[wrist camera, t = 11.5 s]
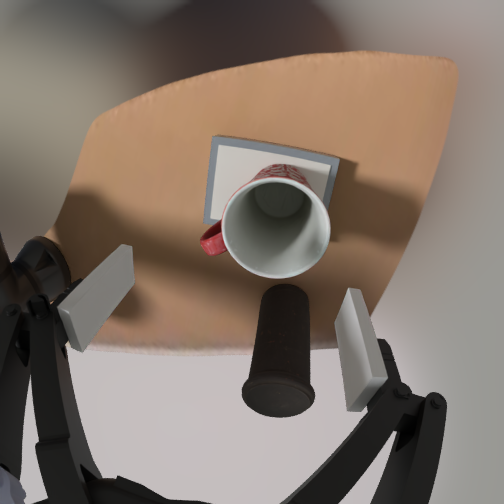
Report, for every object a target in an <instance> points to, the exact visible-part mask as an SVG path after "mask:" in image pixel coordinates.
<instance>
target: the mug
mask: <svg viewBox="0 0 504 504" xmlns="http://www.w3.org/2000/svg"><path fill="white" fill-rule="evenodd" d="M330 233H331V225H330V217H329V214H328V211H327V209H326V207H325V205H324V203H323V202H322V200H321V199H320V198H319V196H318V195H317V194H316V193H315V192H314V191H313V190H312V188H311V186H310V185H309V183H308V182H307V180H306V178H305V177H304V175H303V174H302V173H301V172H300V171H299V170H298V169H296V168H294V167H292V166H290V165H286V164H273V165H270V166H267V167H265V168H264V169H262V170H261V171H260V172H259V173H258V174H257V175H256V176H255V177H254V178H253V179H252V180H251V181H250V182H248V183H246V184H245V185H243V186H242V187H240V188H239V189H238V190H237V191H236V192H235V193H234V194H233V195H232V196H231V198H230V199H229V201H228V202H227V204H226V206H225V208H224V211H223V215H222V219H221V220H219V221H218V222H217V223H215V224H214V225H213V226H212V227H211V228H209V229H208V230H207V231H206V232H205V233H204V235H203V236H202V237H201V239H200V243H201V246H202V248H203V249H204V251H205V252H206V253H207V254H208V255H209V256H215V255H219V254H221V253H223V252H226V251H227V250H228V251H229V252H230V254H231V255H232V257H233V258H234V259H235V260H236V261H237V262H238V263H239V264H240V265H241V266H242V267H244V268H245V269H247V270H248V271H250V272H252V273H254V274H256V275H259V276H262V277H267V278H276V279H280V278H289V277H293V276H296V275H299V274H301V273H303V272H305V271H307V270H308V269H310V268H311V267H313V266H314V265H315V264H316V263H317V262H318V261H319V260H320V259H321V257H322V256H323V255H324V253H325V251H326V249H327V246H328V243H329V240H330Z"/></svg>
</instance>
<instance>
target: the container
mask: <svg viewBox="0 0 504 504" xmlns="http://www.w3.org/2000/svg"><path fill="white" fill-rule="evenodd" d="M242 398H243V400H244V402H245V403H246V404H247V406H248V407H250V408H251V409H252V410H254V411H255V412H257V413H259V414H262V415H265V416H269V417H279V418H282V417H291V416H295V415H298V414H301V413H302V412H304V411H306V410H307V409H308V408H310V407H311V405H312V404H313V402H314V399H315V392H314V389H313V387H312V386H311V384H310V314H309V301H308V297H307V295H306V294H305V293H304V292H303V291H302V290H301V289H300V288H298V287H296V286H293V285H289V284H281V285H277V286H274V287H272V288H270V289H269V290H267V291H266V293H265V294H264V295H263V297H262V301H261V306H260V312H259V320H258V326H257V333H256V339H255V345H254V350H253V356H252V362H251V368H250V373H249V378H248V379H247V381H246V382H245V383H244V385H243V387H242Z"/></svg>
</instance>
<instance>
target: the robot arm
mask: <svg viewBox="0 0 504 504" xmlns="http://www.w3.org/2000/svg"><path fill="white" fill-rule="evenodd" d="M70 284H71V278H70V273H69V269H68V266H67V264H66V262H65V260H64V258H63V256H62V254H61V253H60V251H59V250H58V249H57V247H56V246H55V245H54V244H53V243H52V242H50V241H49V240H48V239H46V238H44V237H42V236H35V237H33V238H32V239H30V240H29V241H27V242H26V243H25V245H24V247H23V248H22V249H21V251H20V252H19V253H18V255H17V257H16V258H15V260H14V261H13V262H10V259H9V257H8V254H7V251H6V248H5V245H4V242H3V239H2V236H1V233H0V504H25V503H24V499H25V497H26V493H25V491H24V489H23V488H22V485H21V483H20V482H19V480H20V475H21V464H22V439H23V425H24V415H25V406H26V399H27V392H28V386H29V380H30V375H31V385H32V396H33V405H34V413H35V419H36V426H37V432H38V437H39V442H38V443H36V445H35V449H36V455H37V460H38V464H39V468H40V472H41V476H42V479H43V483H44V486H45V489H46V492H47V496H48V498H47V499H45V500H42V501H39V502H36V503H33V504H211V503H206V502H201V501H188V500H170V499H166V498H164V497H162V496H161V495H159V494H157V493H155V492H154V491H152V490H150V489H148V488H147V487H145V486H143V485H141V484H139V483H136V482H133V481H131V480H128V479H126V478H123V477H121V476H117V478H116V479H114V478H102V476H101V473H100V471H99V470H98V468H97V466H96V464H95V463H94V461H93V458H92V455H91V452H90V449H89V446H88V443H87V440H86V437H85V433H84V430H83V426H82V423H81V419H80V416H79V412H78V407H77V403H76V399H75V394H74V390H73V385H72V380H71V374H70V368H69V362H68V355H67V349H66V346H65V344H66V343H67V341H68V340H69V343H70V345H71V348H73V349H75V350H77V351H80V352H84V350H85V349H86V348H87V346H88V345H89V343H90V342H91V340H92V339H93V338H94V336H95V335H96V334H97V332H98V331H99V329H100V328H101V327H102V325H103V324H104V323H105V321H106V320H107V319H108V317H109V316H110V315H111V313H112V312H113V311H114V309H115V308H116V307H117V305H118V304H119V303H120V302H121V300H122V299H123V298H124V296H125V295H126V294H127V293H128V291H129V290H130V289H131V288H132V286H133V285H134V284H135V279H134V266H133V251H132V246H129V245H124V244H121V245H120V246H119V247H118V248H117V249H116V250H115V251H114V252H112V253H111V254H110V255H109V256H108V257H107V258H106V259H105V260H104V261H103V262H102V263H101V264H100V265H98V266H97V267H96V268H95V269H94V270H93V271H92V272H91V273H90V274H89V275H88V276H87V277H86V278H85V279H79V280H77V281H75V282H73V283H72V284H71V285H70ZM52 301H54V302H53V303H52V304H51V305H50V302H52ZM334 324H335V330H336V336H337V342H338V348H339V355H340V361H341V368H342V375H343V382H344V390H345V398H346V407H347V411H353V412H361V411H362V410H363V409H364V408H365V407H366V405H367V410H368V413H367V414H366V415H365V416H364V417H363V418H362V419H361V420H360V421H359V423H358V425H357V426H356V427H355V428H354V430H353V431H352V432H351V433H350V435H349V436H348V437H347V438H346V439H345V440H344V441H343V443H342V444H341V445H340V446H339V447H338V448H337V449H336V450H335V452H334V453H333V454H332V455H331V456H330V457H329V458H328V459H327V460H326V461H325V462H324V463H323V464H322V465H321V466H320V467H319V468H318V470H317V471H315V472H314V473H313V475H311V476H310V477H309V478H308V479H307V480H306V481H305V482H304V483H303V484H302V485H301V486H300V487H299V488H298V489H297V490H295V491H294V492H293V493H292V494H291V495H290V496H288V498H286V499H285V500H284V501H283V502H281V503H280V504H338V503H339V502H340V501H341V500H342V499H343V498H344V497H345V496H346V494H347V493H348V492H349V491H350V490H351V489H352V487H353V486H354V485H355V484H356V482H357V481H358V480H359V479H360V477H361V476H362V475H363V474H364V472H365V471H366V470H367V468H368V467H369V466H370V464H371V463H372V462H373V460H374V459H375V458H376V456H377V455H378V453H379V452H380V450H381V449H382V448H383V446H384V445H385V443H386V441H387V440H388V438H389V437H390V435H391V434H392V432H393V431H397V434H396V436H395V440H394V443H393V446H392V449H391V452H390V455H389V458H388V461H387V464H386V467H385V469H384V472H383V475H382V477H381V480H380V482H379V485H378V487H377V489H376V492H375V494H374V496H373V499H372V501H371V503H370V504H428V503H429V500H430V496H431V493H432V489H433V485H434V481H435V477H436V473H437V469H438V464H439V459H440V454H441V448H442V442H443V436H444V428H445V421H446V412H447V402H446V400H445V398H444V397H443V396H442V395H441V394H439V393H436V392H432V393H429V394H428V395H427V396H426V397H421V396H418V395H415V394H412V391H411V389H410V387H409V386H407V385H406V384H405V383H402V382H401V379H400V375H399V372H398V369H397V366H396V362H395V361H394V360H395V359H394V357H393V355H392V354H393V353H392V350H391V347H390V345H389V344H388V343H387V342H386V340H385V339H377V338H376V335H375V332H374V329H373V326H372V322H371V319H370V316H369V313H368V310H367V307H366V304H365V302H364V299H363V296H362V293H361V290H360V289H354V288H348V290H347V293H346V295H345V298H344V300H343V303H342V305H341V308H340V310H339V313H338V315H337V317H336V320H335V322H334Z"/></svg>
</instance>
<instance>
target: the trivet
mask: <svg viewBox="0 0 504 504" xmlns="http://www.w3.org/2000/svg"><path fill="white" fill-rule="evenodd" d="M339 161H340V159H339V158H338V157H336V156H333V155H329V154H325V153H320V152H316V151H311V150H307V149H302V148H297V147H292V146H287V145H282V144H276V143H271V142H265V141H259V140H253V139H246V138H239V137H232V136H224V135H215V136H212V144H211V152H210V160H209V169H208V178H207V188H206V198H205V208H204V220H203V223H204V224H210V225H214V224H215V223H217V222H218V221H219V220H221V219H222V215H223V211H224V208H225V206H226V204H227V202H228V201H229V199H230V198H231V196H232V195H233V194H234V193H235V192H236V191H237V190H238V189H239V188H240V187H242V186H243V185H245V184H246V183H248V182H250V181H251V180H252V179H253V178H254V177H255V176H256V175H257V174H258V173H259V172H260V171H261V170H262V169H264V168H265V167H267V166H270V165H273V164H286V165H290V166H292V167H294V168H296V169H298V170H299V171H300V172H301V173H302V174H303V175H304V177H305V178H306V180H307V182H308V183H309V185H310V186H311V188H312V190H313V191H314V192H315V193H316V194H317V195H318V196H319V198H320V199H321V200H322V202H323V203H324V205H325V207H326V209H327V211H328V207H329V203H330V199H331V195H332V191H333V187H334V183H335V178H336V174H337V170H338V165H339Z"/></svg>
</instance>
